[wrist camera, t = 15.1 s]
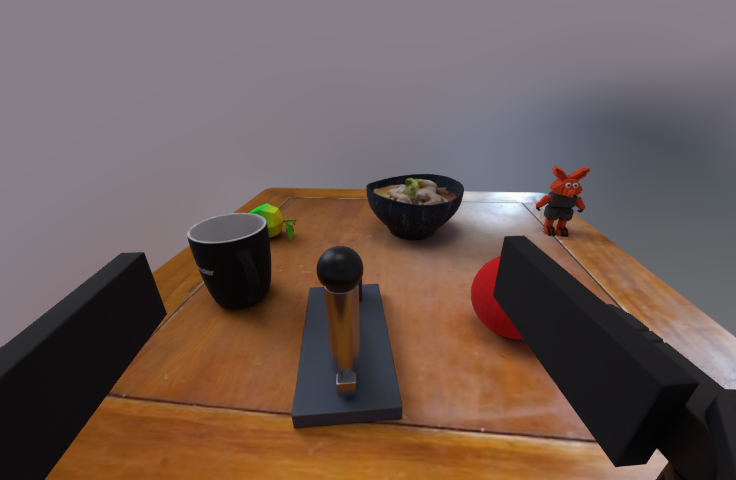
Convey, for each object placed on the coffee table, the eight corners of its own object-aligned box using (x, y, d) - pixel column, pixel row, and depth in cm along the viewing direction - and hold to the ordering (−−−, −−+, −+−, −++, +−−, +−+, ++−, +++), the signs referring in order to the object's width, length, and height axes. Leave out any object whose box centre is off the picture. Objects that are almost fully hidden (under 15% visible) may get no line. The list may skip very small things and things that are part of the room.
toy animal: (537, 239, 57) (554, 172, 51) (528, 226, 62) (543, 164, 56) (586, 241, 56) (608, 174, 50) (573, 229, 60) (592, 165, 55)
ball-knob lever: (329, 318, 35) (320, 209, 30) (360, 316, 35) (357, 208, 30) (326, 398, 26) (312, 264, 21) (367, 395, 27) (364, 261, 21)
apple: (242, 198, 56) (292, 197, 55) (256, 210, 62) (301, 210, 62) (237, 237, 54) (289, 237, 54) (252, 246, 60) (299, 246, 60)
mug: (200, 291, 44) (180, 223, 39) (264, 270, 48) (252, 207, 44) (224, 342, 35) (201, 262, 30) (298, 310, 40) (289, 237, 35)
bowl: (352, 223, 64) (350, 174, 60) (421, 208, 71) (424, 163, 67) (397, 261, 50) (399, 201, 46) (478, 238, 57) (486, 184, 53)
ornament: (539, 308, 39) (559, 235, 35) (562, 364, 32) (593, 280, 27) (464, 299, 41) (474, 229, 37) (468, 351, 33) (482, 269, 29)
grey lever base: (310, 296, 42) (307, 264, 40) (378, 292, 43) (378, 260, 41) (293, 428, 26) (285, 386, 24) (401, 419, 27) (404, 377, 25)
